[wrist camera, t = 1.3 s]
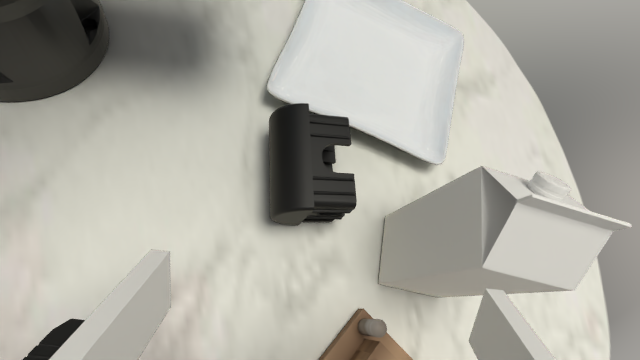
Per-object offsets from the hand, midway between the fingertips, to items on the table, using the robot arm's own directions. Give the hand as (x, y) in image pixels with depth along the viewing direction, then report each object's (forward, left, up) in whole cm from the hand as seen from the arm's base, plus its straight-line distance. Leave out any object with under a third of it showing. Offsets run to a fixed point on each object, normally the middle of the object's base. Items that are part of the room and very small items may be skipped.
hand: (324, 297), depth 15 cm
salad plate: (-10, +28, -19) cm, 35 cm away
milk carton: (+8, +14, -19) cm, 25 cm away
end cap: (-6, +11, -19) cm, 23 cm away
